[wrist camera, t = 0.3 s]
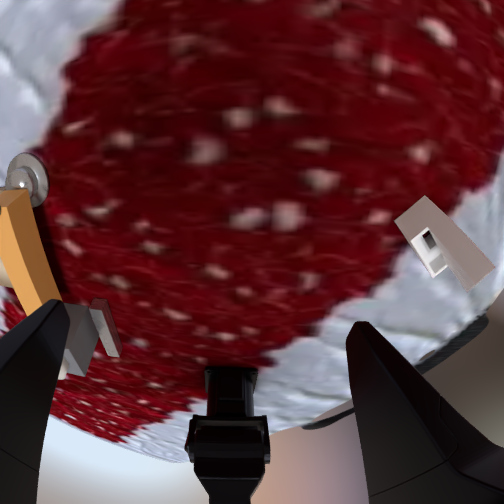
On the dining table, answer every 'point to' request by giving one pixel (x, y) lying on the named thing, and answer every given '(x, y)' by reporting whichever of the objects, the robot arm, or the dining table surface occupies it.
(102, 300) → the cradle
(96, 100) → the dining table surface
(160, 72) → the dining table surface
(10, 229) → the latch
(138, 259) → the dining table surface
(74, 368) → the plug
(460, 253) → the white angled block
